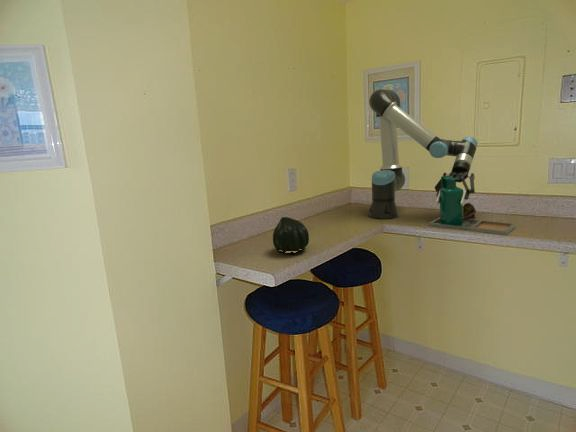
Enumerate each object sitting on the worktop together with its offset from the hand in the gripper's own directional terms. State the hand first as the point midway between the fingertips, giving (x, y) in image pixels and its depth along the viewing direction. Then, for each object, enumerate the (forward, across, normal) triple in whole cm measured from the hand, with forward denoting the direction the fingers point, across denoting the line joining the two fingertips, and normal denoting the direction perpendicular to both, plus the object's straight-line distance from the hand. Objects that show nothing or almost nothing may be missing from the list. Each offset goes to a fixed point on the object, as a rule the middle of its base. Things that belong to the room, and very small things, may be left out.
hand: (449, 203), depth 177 cm
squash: (+55, +38, +40) cm, 78 cm away
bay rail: (+5, -9, -9) cm, 14 cm away
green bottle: (+5, 0, -10) cm, 11 cm away
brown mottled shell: (-5, 0, -20) cm, 20 cm away
